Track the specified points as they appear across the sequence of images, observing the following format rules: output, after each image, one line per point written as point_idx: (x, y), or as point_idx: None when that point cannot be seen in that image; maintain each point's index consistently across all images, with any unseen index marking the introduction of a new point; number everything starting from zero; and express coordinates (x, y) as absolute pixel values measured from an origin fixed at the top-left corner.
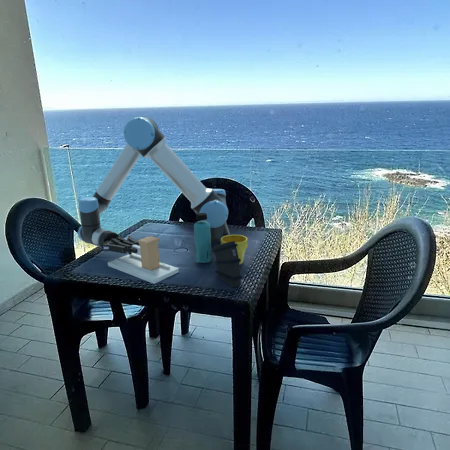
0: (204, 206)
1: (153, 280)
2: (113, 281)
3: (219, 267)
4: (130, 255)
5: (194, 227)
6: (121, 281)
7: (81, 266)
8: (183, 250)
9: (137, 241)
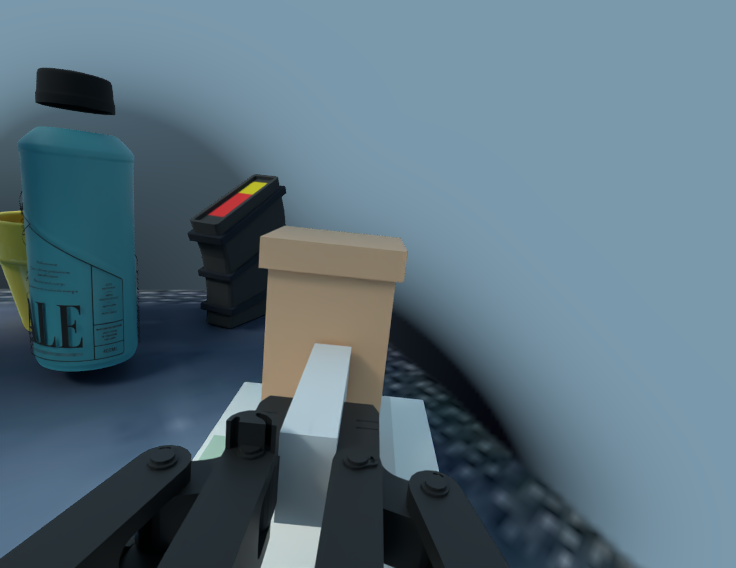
0: None
1: (423, 405)
2: None
3: (244, 284)
4: None
5: (109, 160)
6: (567, 561)
7: None
8: None
9: (101, 486)
